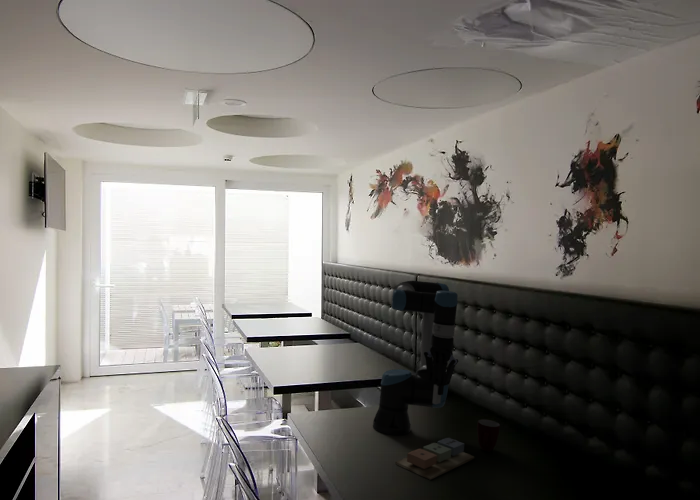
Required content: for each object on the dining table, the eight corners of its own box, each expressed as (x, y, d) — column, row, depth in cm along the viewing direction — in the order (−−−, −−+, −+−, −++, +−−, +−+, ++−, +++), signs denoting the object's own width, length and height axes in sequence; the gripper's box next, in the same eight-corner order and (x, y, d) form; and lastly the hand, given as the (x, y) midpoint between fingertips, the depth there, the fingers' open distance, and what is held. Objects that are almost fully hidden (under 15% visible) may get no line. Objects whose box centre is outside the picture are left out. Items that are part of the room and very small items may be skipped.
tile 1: (406, 461, 166) (407, 452, 166) (418, 456, 171) (419, 448, 171) (424, 469, 161) (425, 460, 161) (436, 463, 167) (437, 455, 167)
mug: (497, 458, 181) (500, 430, 181) (474, 453, 183) (477, 426, 183) (497, 447, 191) (499, 421, 191) (475, 443, 193) (477, 417, 193)
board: (395, 464, 168) (396, 456, 168) (440, 445, 188) (441, 438, 188) (430, 479, 158) (431, 471, 158) (474, 458, 178) (474, 451, 178)
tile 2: (422, 455, 173) (423, 446, 173) (433, 450, 178) (434, 442, 178) (439, 462, 168) (440, 453, 168) (450, 457, 173) (451, 449, 173)
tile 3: (436, 449, 179) (437, 441, 179) (447, 444, 185) (447, 437, 185) (453, 455, 175) (454, 447, 175) (463, 451, 180) (464, 443, 180)
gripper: (421, 332, 175) (414, 399, 175) (452, 340, 165) (446, 410, 166) (433, 331, 180) (427, 395, 181) (465, 338, 171) (458, 406, 172)
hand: (436, 403), depth 173 cm, fingers closed
